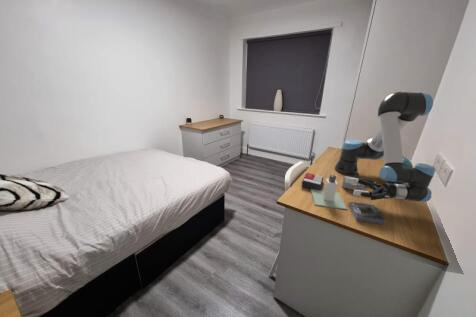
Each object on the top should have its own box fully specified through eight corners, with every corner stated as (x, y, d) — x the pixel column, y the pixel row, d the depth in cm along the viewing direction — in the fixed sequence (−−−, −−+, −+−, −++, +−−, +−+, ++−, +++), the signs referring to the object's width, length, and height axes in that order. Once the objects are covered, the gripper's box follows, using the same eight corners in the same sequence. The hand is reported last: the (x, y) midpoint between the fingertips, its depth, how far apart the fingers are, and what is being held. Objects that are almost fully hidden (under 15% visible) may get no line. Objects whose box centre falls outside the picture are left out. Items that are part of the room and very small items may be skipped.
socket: (348, 205, 106) (349, 201, 105) (372, 209, 104) (374, 205, 103) (356, 220, 95) (357, 216, 94) (383, 224, 93) (385, 220, 92)
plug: (322, 195, 114) (327, 173, 109) (331, 196, 113) (336, 174, 108) (323, 199, 109) (329, 177, 104) (333, 201, 109) (339, 178, 103)
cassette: (341, 187, 124) (344, 176, 121) (341, 186, 126) (344, 175, 123) (363, 192, 120) (366, 181, 117) (362, 190, 122) (366, 179, 119)
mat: (310, 189, 120) (310, 189, 120) (338, 193, 117) (338, 192, 117) (314, 205, 106) (315, 204, 105) (346, 209, 103) (347, 208, 103)
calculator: (323, 176, 130) (321, 184, 117) (322, 182, 131) (319, 190, 118) (306, 172, 134) (302, 179, 122) (305, 178, 136) (301, 185, 123)
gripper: (404, 211, 92) (355, 204, 96) (380, 185, 115) (341, 180, 119) (410, 198, 90) (359, 191, 93) (384, 173, 112) (344, 169, 116)
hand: (349, 185), depth 106 cm, fingers open, 13 cm apart
